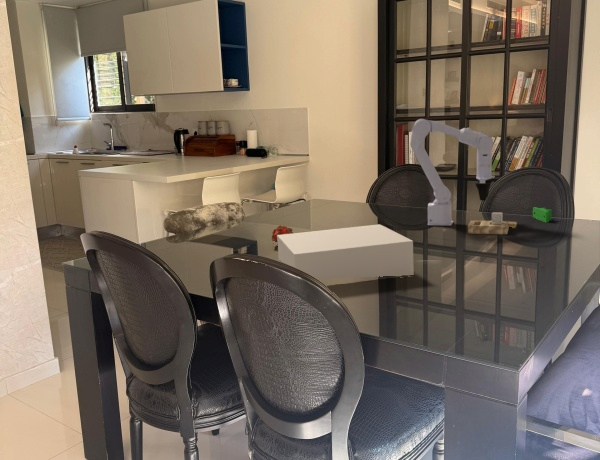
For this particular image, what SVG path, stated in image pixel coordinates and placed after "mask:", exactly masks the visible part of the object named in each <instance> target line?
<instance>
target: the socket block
mask: <svg viewBox="0 0 600 460" xmlns="http://www.w3.org/2000/svg"><path fill="white" fill-rule="evenodd" d="M509 222H510V221H509V220H502V225H492V220H470V221H469V223H468V225H467V234H477V235H478V234H479V235H481V234H482V235H508V233H509V229H510V228H509Z"/></svg>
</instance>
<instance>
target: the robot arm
mask: <svg viewBox="0 0 600 460" xmlns="http://www.w3.org/2000/svg"><path fill="white" fill-rule="evenodd" d="M437 132H440V133H443V134H446V135H449V136H453V137H456V138H457V141H458V142H460V143H462V144H465V145H468V146H471V147H476V149H477V150H476V180H477V182H475V188H477V191H478V196H479V200H480V201H486V200H487V198H488V197H489V193H490V189H491V188H490V187H491V184H492V182H493V179H495V177H496V176H495V175H492V170H493V169H492V167H493V166H492V163H493V162H492V161H493V160H492V158H493V153H492V148H493V146H494V141H493V138H492V137H491V136H490V135H486V134H484V133H483V132H481V131H479V132H477V131H475V130H473V129H472V128H471V127H467V128H466V127H463V128H461V129H458V128H455V127H453V126H450V125H448V124H445V123H442V122H440V121H436V120H429V119H424V118H419V119H417V120H415V123H414V124H413V126H412V128H411V133H410V134H411V136H410V143H409V145H410V148H411V150H412V151H413V153H414V155H415V157H416V159H417V162H418V163H419V165H420V166H421V169H422V170H423V173H424V174H425V177H426V178H427V179H428V181H429V183H430V186H431V188H432V190H433V196H434V200H433V201H432V202H429V203H428V204H427V226H452V225H453V223H454V220H452V200H451V198H452V192H451V191H450V190H449V188H448V187H447V186H446V185H445V184H444V183H443V181H442V179H441V177H440V175H439V174H438V172H437V169H436V168H435V166H434V164H433V162H432V160H431V158H430V156H429V154H428V152H427V151H426V148H425V147H424V142H425V139H426V137H427V136H428V135H429V134H430V133H437Z"/></svg>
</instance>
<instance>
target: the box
mask: <svg viewBox="0 0 600 460" xmlns="http://www.w3.org/2000/svg"><path fill="white" fill-rule="evenodd" d="M277 242H278V247H277V253H278V254H277V255H278V256H277V257H278V261H279V260H281V261H282V262H284V263H286V264H288V265H290V266H293V267H295V268H297V269H300V270H302V271H304V272H306V273H308V274H310V275H312V276H313V277H315V278H317V279H318V280H319V279H320V280H321V279H330V278H345V277H376V276H377V277H379V276H380V277H383V276H402V275H415V272H414V241H413V240H412V239H410V238H408V237H406V236H404V235H402V234H400V233H398V232H396V231H394V230H392V229H390V228H388V227H386V226H384V225H382V224H370V225H361V226H351V227H341V228H333V229H331V228H330V229H324V230H323V229H322V230H321V229H320V230H315V231H311V230H310V231H305V232H295V233H294V232H293V234H283V235H277Z"/></svg>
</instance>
